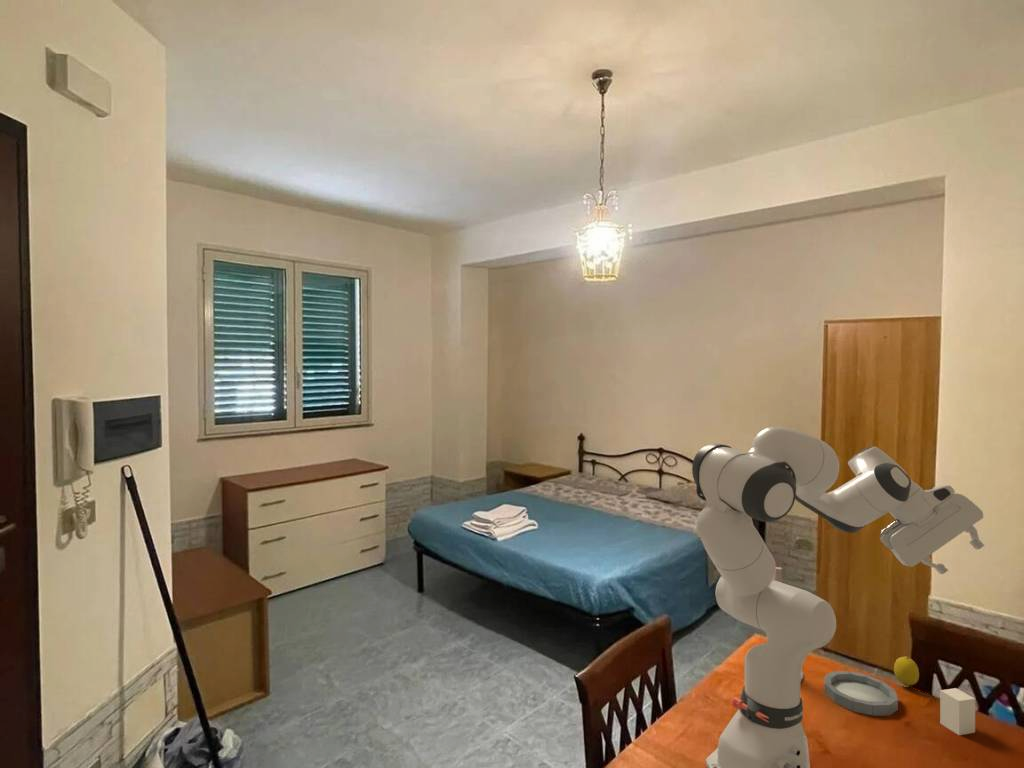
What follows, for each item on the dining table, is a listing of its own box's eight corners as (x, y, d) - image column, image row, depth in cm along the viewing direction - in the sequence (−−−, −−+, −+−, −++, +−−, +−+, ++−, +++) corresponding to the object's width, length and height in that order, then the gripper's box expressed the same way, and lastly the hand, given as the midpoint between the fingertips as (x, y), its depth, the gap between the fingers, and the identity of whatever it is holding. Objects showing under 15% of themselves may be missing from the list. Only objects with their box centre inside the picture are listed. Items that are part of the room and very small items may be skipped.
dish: (877, 723, 135) (877, 712, 135) (812, 691, 149) (812, 682, 149) (909, 702, 144) (909, 692, 144) (844, 674, 157) (844, 665, 157)
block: (959, 735, 131) (959, 701, 131) (940, 723, 135) (940, 690, 135) (975, 732, 132) (975, 698, 132) (955, 720, 136) (955, 688, 136)
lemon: (911, 681, 154) (911, 652, 154) (923, 692, 148) (923, 662, 148) (889, 680, 155) (889, 651, 154) (901, 691, 149) (901, 661, 149)
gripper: (879, 535, 128) (929, 588, 123) (956, 481, 126) (1008, 533, 121) (870, 534, 134) (917, 585, 129) (943, 483, 132) (993, 533, 127)
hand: (962, 560), depth 125 cm, fingers open, 8 cm apart
